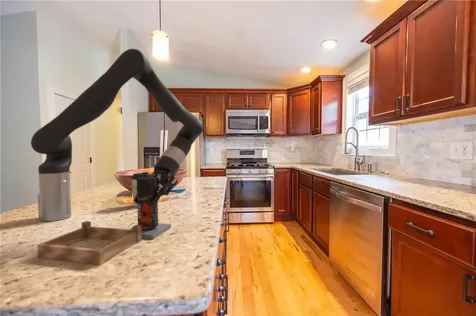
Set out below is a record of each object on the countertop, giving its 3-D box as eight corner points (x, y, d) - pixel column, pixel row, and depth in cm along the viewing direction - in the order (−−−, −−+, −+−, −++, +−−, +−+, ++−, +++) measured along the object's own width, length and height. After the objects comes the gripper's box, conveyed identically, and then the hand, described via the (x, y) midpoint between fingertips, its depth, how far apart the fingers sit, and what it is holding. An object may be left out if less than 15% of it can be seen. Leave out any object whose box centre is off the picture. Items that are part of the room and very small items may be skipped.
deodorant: (162, 223, 76) (161, 176, 76) (149, 229, 71) (148, 179, 70) (147, 221, 78) (145, 176, 77) (133, 227, 73) (132, 178, 72)
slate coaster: (123, 236, 71) (123, 232, 71) (143, 225, 80) (143, 222, 80) (153, 239, 68) (153, 235, 68) (170, 227, 78) (170, 224, 78)
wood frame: (36, 256, 58) (36, 239, 57) (86, 235, 71) (86, 221, 71) (101, 265, 53) (101, 245, 53) (141, 240, 67) (141, 225, 67)
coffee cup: (145, 208, 103) (144, 173, 103) (127, 207, 105) (126, 173, 105) (156, 203, 112) (156, 171, 112) (139, 202, 114) (138, 171, 113)
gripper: (149, 154, 83) (119, 194, 73) (181, 155, 77) (152, 199, 67) (161, 168, 88) (134, 207, 78) (191, 170, 81) (167, 213, 72)
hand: (143, 203), depth 73 cm, fingers closed on deodorant, 6 cm apart
